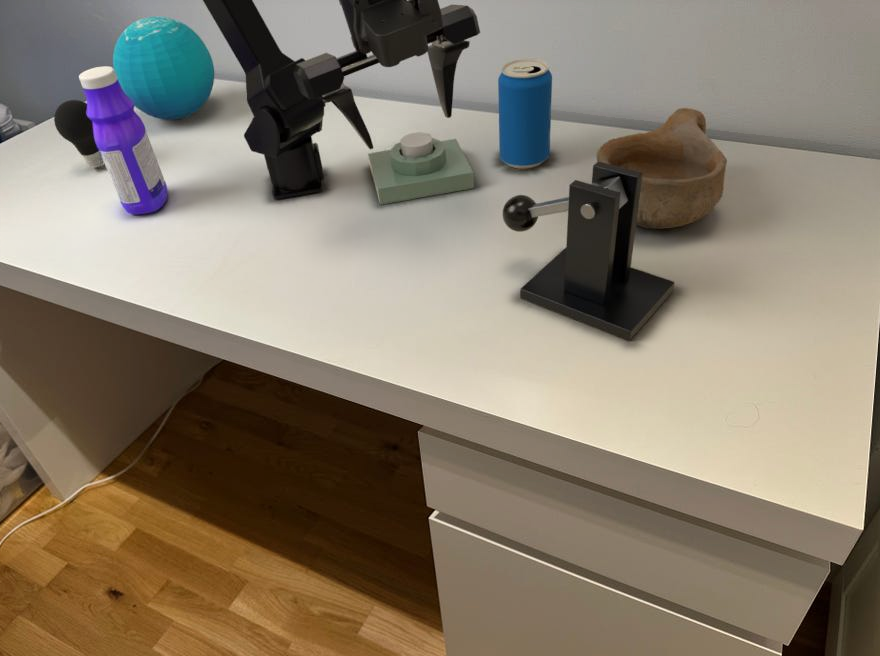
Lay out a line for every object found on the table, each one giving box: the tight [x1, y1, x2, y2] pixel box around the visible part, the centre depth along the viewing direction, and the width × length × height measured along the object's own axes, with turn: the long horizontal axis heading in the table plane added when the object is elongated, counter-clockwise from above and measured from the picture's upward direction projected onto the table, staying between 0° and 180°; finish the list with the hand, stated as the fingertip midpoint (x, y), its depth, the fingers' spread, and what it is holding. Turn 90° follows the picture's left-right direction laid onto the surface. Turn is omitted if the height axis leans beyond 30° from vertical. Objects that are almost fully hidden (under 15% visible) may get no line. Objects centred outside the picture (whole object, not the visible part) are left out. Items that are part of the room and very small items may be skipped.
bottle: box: [78, 65, 168, 215], centre depth 88 cm, size 7×6×17 cm
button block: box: [367, 137, 475, 206], centre depth 90 cm, size 12×10×4 cm
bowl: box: [596, 107, 728, 229], centre depth 78 cm, size 18×14×10 cm
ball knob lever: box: [502, 177, 628, 233], centre depth 66 cm, size 13×4×4 cm, turn 50°
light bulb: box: [53, 99, 104, 170], centre depth 100 cm, size 6×6×10 cm
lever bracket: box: [519, 161, 675, 342], centre depth 66 cm, size 12×9×13 cm
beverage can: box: [497, 58, 553, 170], centre depth 88 cm, size 6×6×12 cm
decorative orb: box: [112, 15, 215, 121], centre depth 110 cm, size 15×15×15 cm
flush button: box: [399, 132, 433, 158], centre depth 88 cm, size 4×4×2 cm
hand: (410, 132), depth 76 cm, fingers open, 9 cm apart
